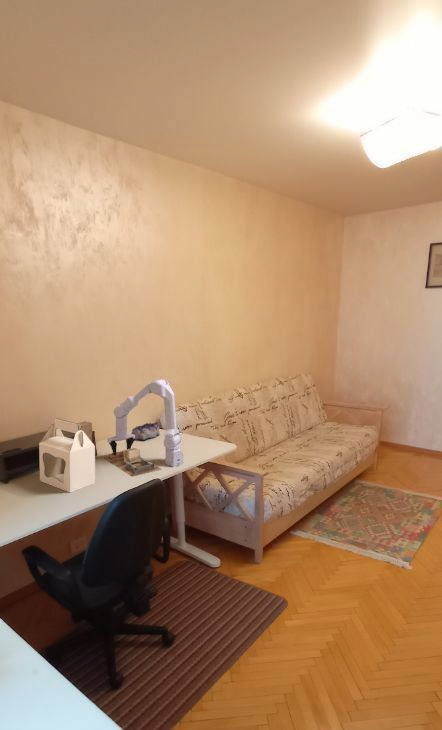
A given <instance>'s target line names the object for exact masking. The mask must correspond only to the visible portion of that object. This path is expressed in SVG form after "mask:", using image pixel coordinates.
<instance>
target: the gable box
mask: <svg viewBox="0 0 442 730" xmlns="http://www.w3.org/2000/svg"><path fill="white" fill-rule="evenodd" d="M78 423H79V422H72V421H69V420H64V419H61V418H55V419H54V423H53V424H52V423H51V424H50V427H48V430H47V431H46V432H45V434H44V436H43V437H42V439H41V440H40V441H39V443H38V451H39V452H38V454H39V460H38V461H39V482H42V483H45V484H46V485H49V486H51V487H55V488H57V489H59V490H63V491H65V492H67V493H73V492H75V491H79V490H81V489H84V488H87V487H89V486H91V485H94V484H96V446H95V444H94V443H93V441H92V442H91V440H90V439H89V438H88V437H87V435H86V434H85V433H84V432H83V431H82V430H80V429H81V425H78ZM62 431H65V432H67V433H68V432H72V433H75V436H73V438H71V437H67V436H64V434H63V432H62Z"/></svg>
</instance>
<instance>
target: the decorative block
mask: <svg viewBox="0 0 442 730" xmlns="http://www.w3.org/2000/svg"><path fill="white" fill-rule="evenodd" d="M77 423H78V425H81V429H80V430H82V431H83V432H84V433H85V434H86V435H87V437H88V438H89V439H90V440H91V442H92V443H93V423H92V422H90V421H81V422H77ZM67 435H68V436H72V437H74V436H75V433H72V432H68V431H67Z"/></svg>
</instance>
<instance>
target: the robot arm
mask: <svg viewBox="0 0 442 730" xmlns="http://www.w3.org/2000/svg"><path fill="white" fill-rule="evenodd" d="M148 394H149V395H150V394H154V395H156V396H159V397H160V398H162V399H163V404H164V405H163V406H164V416H165V429H166V430H165V433H164V439H163V447H165V448H164V449H165V453H164V456H165V459H164V460H165V461H164V462H165V465H167V466H170V467H171V468H175V467H180V466H184V453H183V451H182V450H181V446H180V443H181V442H182V436H181V433H180V430H179V429H178V428H177V425H178V424H177V413H176V401H175V400H176V399H175V393H174V391H173V390H172V387H171V386H170V382H169V381H168V380H166V379H164V378H159V379H157V380H153V381H151V382H150V383H148V384H146V385H145V386H144V387H143V388H142V389H141V390H140V391H139V392H138V393H136V394H135V395H134V396H130V395H129V396H127V397H126V400H124V401H123V402H120V403H119V405H117V406H115V407H114V409H113V414H114V416H115V436H111V437H107V443H109V445H110V448H111V450H112V453H113V455H115V456H116V452H117V448H118V447H117V446H118V443H117V442H120V441H124V440H125V442H126V450H127V449H132V445H133V444H134V442H135V440H134V438H135V435H134V434H128V415H129V413H130V412H131V411H132V410H133V409H135V408H136V407H137V406H138V405H139V401H140V400H142V399H143V398H144V397H146V396H147V395H148Z"/></svg>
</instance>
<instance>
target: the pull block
mask: <svg viewBox="0 0 442 730" xmlns="http://www.w3.org/2000/svg"><path fill="white" fill-rule="evenodd" d="M119 456H124V462H129V463H135V462H139V461H141V459H140V457H141V450H140V449H139V448H135V447H133V448H132V447H131V449H127V448H126V449H124V450H122V451H116V456H115V455H113V452H112V453H108V457H109V458H115V457H119Z"/></svg>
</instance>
